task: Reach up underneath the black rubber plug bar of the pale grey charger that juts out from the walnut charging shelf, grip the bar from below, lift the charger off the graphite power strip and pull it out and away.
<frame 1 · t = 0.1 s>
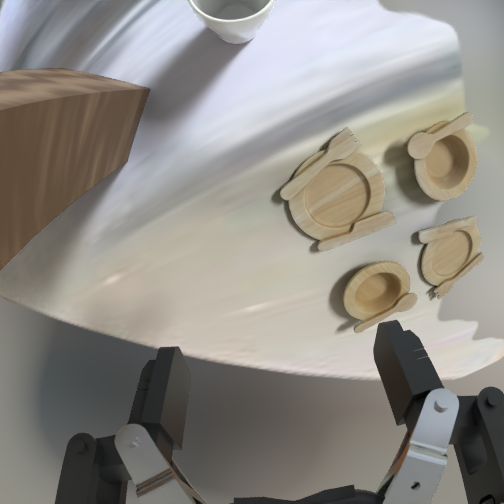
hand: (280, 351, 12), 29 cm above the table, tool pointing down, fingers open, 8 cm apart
tableware set: (402, 224, 42), on the table
shelf: (92, 112, 33), on the table
drinking glass: (237, 25, 28), on the table
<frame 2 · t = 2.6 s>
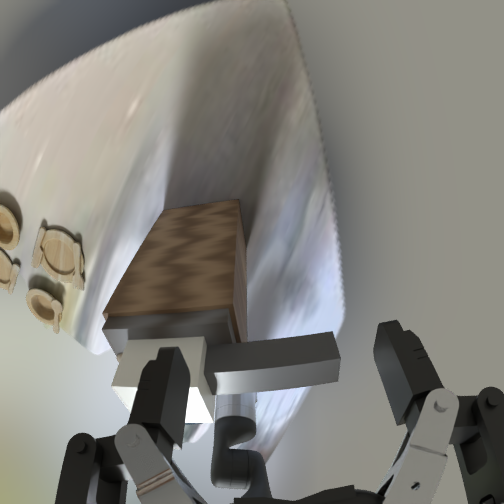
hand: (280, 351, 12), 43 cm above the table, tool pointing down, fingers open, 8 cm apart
tableware set: (28, 261, 60), on the table
charger: (172, 359, 29), point 31 cm above the table, touching shelf
shelf: (205, 229, 56), on the table
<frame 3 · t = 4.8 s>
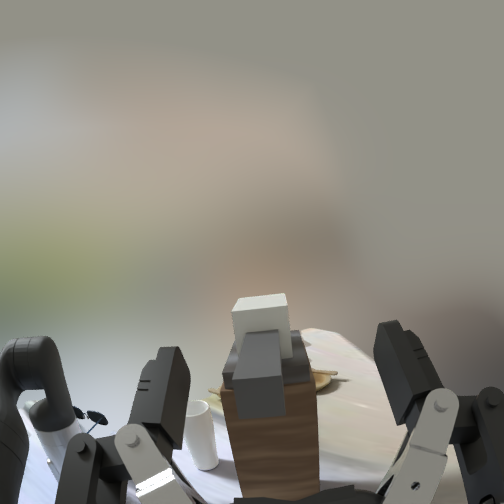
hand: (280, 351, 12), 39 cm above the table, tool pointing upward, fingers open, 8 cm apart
tableware set: (276, 394, 83), on the table
sunglasses: (74, 433, 61), on the table
charger: (266, 348, 36), point 31 cm above the table, touching shelf
drinking glass: (207, 464, 52), on the table
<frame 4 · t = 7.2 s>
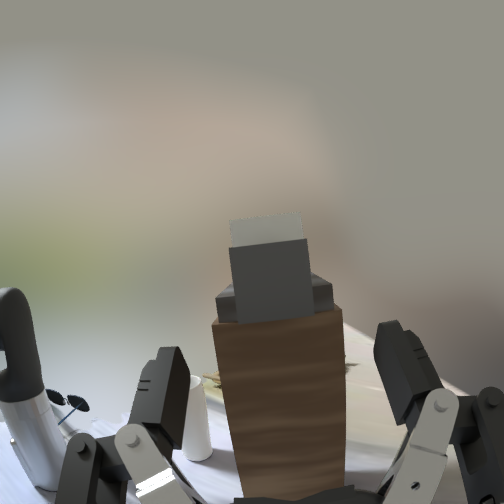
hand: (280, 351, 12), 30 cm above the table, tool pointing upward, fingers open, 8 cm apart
sunglasses: (53, 419, 54), on the table
charger: (272, 282, 30), point 31 cm above the table, touching shelf
drinking glass: (198, 454, 44), on the table
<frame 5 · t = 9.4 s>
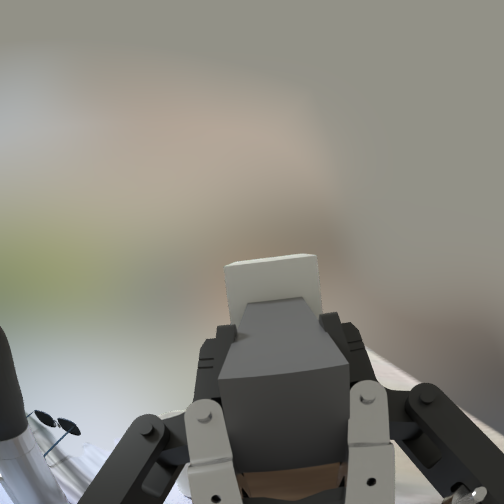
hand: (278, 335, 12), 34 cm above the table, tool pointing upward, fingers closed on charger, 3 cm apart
sunglasses: (43, 443, 47), on the table
charger: (278, 334, 23), point 31 cm above the table, touching gripper, shelf
drinking glass: (195, 489, 38), on the table
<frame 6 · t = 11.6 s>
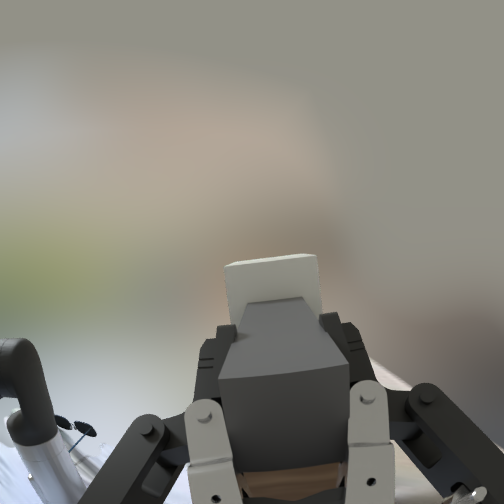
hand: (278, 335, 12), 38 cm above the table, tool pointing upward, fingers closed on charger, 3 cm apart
sunglasses: (61, 445, 53), on the table
charger: (278, 334, 24), point 35 cm above the table, touching gripper
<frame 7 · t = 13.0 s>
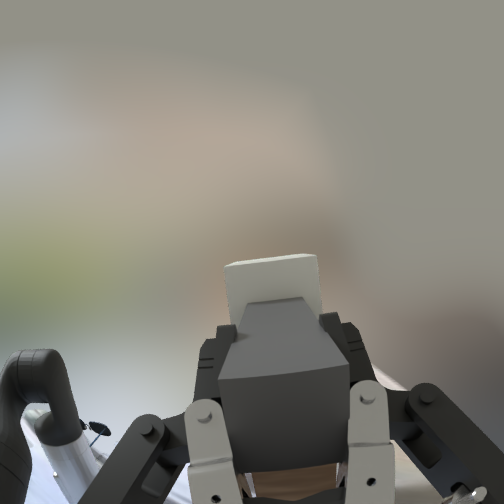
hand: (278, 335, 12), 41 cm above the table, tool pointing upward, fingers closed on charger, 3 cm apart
sunglasses: (77, 444, 59), on the table
charger: (278, 334, 23), point 38 cm above the table, touching gripper
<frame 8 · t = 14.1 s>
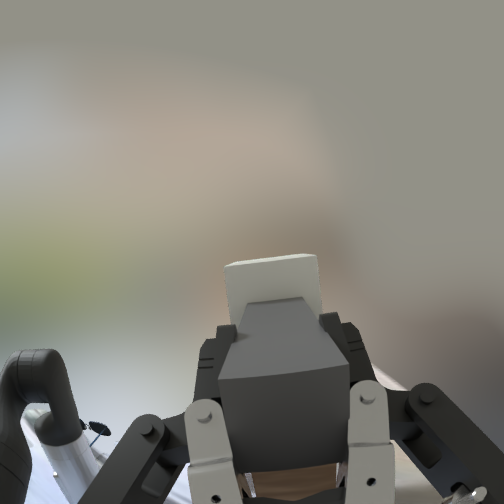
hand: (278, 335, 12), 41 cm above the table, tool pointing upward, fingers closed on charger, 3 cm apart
sunglasses: (77, 444, 59), on the table
charger: (278, 334, 23), point 38 cm above the table, touching gripper
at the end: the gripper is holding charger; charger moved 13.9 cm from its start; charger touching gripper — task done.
